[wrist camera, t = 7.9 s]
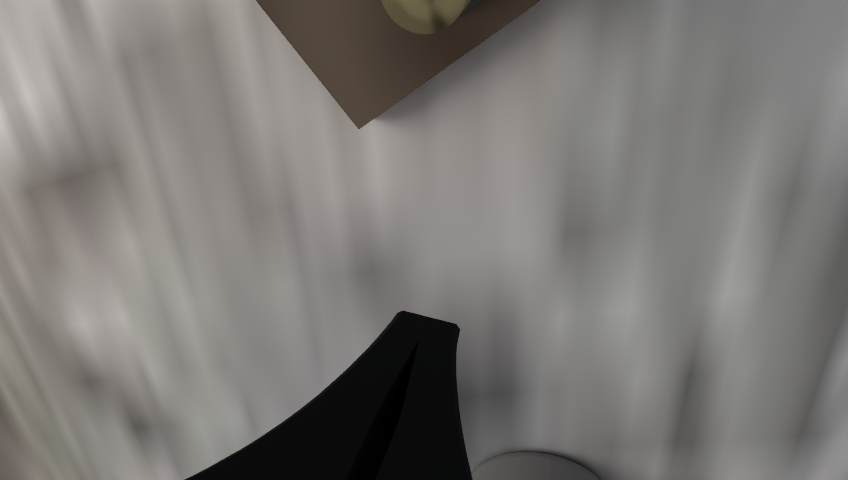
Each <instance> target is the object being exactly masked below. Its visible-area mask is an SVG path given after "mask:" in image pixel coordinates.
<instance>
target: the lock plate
mask: <svg viewBox="0 0 848 480" xmlns="http://www.w3.org/2000/svg"><path fill="white" fill-rule="evenodd" d="M256 1H257V2H258V4H259V5H260V6H261V7H262V9H263V10H264V11H265V12H266V14H267V15H268V16H269V17H270V19H271V20H272V21H273V23H274V24H275V25H276V26H277V28H278V29H279V30H280V31H281V33H282V34H283V35H284V36H285V38H286V39H287V40H288V41H289V43H290V44H291V45H292V46H293V48H294V49H295V50H296V51H297V53H298V54H299V55H300V56H301V58H302V59H303V60H304V61H305V63H306V64H307V65H308V66H309V68H310V69H311V70H312V71H313V73H314V74H315V75H316V76H317V78H318V79H319V80H320V81H321V83H322V84H323V85H324V86H325V88H326V89H327V90H328V91H329V93H330V94H331V95H332V96H333V98H334V99H335V100H336V101H337V103H338V104H339V105H340V106H341V108H342V109H343V110H344V111H345V113H346V114H347V115H348V117H349V118H350V119H351V120H352V122H353V123H354V124H355V125H356V127H357V128H358V129H360V128H361V127H363V126H364V125H366V124H367V123H368V122H370V121H371V120H373V119H374V118H376V117H377V116H378V115H380V114H381V113H383V112H384V111H385V110H387V109H388V108H390V107H391V106H392V105H394V104H395V103H397V102H398V101H399V100H401V99H402V98H404V97H405V96H406V95H408V94H409V93H411V92H412V91H414V90H415V89H416V88H418V87H419V86H421V85H422V84H423V83H425V82H426V81H428V80H429V79H430V78H432V77H433V76H435V75H436V74H437V73H439V72H440V71H442V70H443V69H445V68H446V67H447V66H449V65H450V64H452V63H453V62H454V61H456V60H457V59H459V58H460V57H461V56H463V55H464V54H466V53H467V52H468V51H470V50H471V49H473V48H474V47H476V46H477V45H478V44H480V43H481V42H483V41H484V40H485V39H487V38H488V37H490V36H491V35H492V34H494V33H495V32H497V31H498V30H499V29H501V28H502V27H504V26H505V25H506V24H508V23H509V22H511V21H512V20H514V19H515V18H516V17H518V16H519V15H521V14H522V13H523V12H525V11H526V10H528V9H529V8H530V7H532V6H533V5H535V4H536V3H537V2H539V1H540V0H471V2H470V3H469V4H468V5H467V7H466V8H465V9H464V10H463V11H462V13H461V14H460V15H459V16H458V18H457V19H456V20H455V21H454V22H453V23H452V24H451V25H450V26H448V27H447V28H446V29H444V30H442V31H439V32H437V33H432V34H417V33H413V32H410V31H408V30H406V29H404V28H402V27H401V26H399V25H398V24H397V23H395V22H394V21H393V20H392V18H391V17H390V16H389V15H388V13H387V12H386V10H385V8H384V6H383V4H382V1H381V0H256Z"/></svg>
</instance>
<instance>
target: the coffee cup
mask: <svg viewBox="0 0 848 480" xmlns="http://www.w3.org/2000/svg"><path fill="white" fill-rule="evenodd" d="M471 475H472V479H473V480H600V479H599V478H598V477H597V476H595V475H594V474H593V473H591V472H590V471H589V470H587V469H586V468H584V467H582V466H580V465H578V464H576V463H574V462H572V461H570V460H567V459H564V458H562V457H559V456H555V455H551V454H546V453H540V452H513V453H506V454H502V455H499V456H496V457H493V458H491V459H489V460H487V461H485V462H484V463H482V464H481V465H480V466H478V467H477V468H476V469H475V471H474V472H473V473H472V474H471Z"/></svg>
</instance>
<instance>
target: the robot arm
mask: <svg viewBox="0 0 848 480" xmlns="http://www.w3.org/2000/svg"><path fill="white" fill-rule="evenodd" d="M459 332H460V329H459V327H458V326H457V325H456V324H454V323H450V322H446V321H442V320H438V319H434V318H430V317H426V316H422V315H418V314H414V313H410V312H406V311H401V312H399V313H397V314H396V316H395V317H394V318H393V320H392V321H391V322H390V323H389V325H388V326H387V327H386V328H385V330H384V331H383V332H382V333H381V334H380V335H379V337H378V338H377V339H376V340H375V341H374V342H373V343H372V344H371V345H370V346H369V348H368V349H367V350H366V351H365V352H364V353H363V354H362V355H361V356H360V357H359V358H358V359H357V360H356V361H355V362H354V363H353V364H352V365H351V366H350V367H349V368H348V369H347V370H346V371H345V372H343V373H342V374H341V375H340V376H339V377H338V378H337V379H336V380H335V381H333V382H332V383H331V384H330V385H329V386H328V387H327V388H325V389H324V390H323V391H322V392H321V393H320V394H319V395H317V396H316V397H315V398H314V399H313V400H311V401H310V402H309V403H308V404H306V405H305V406H304V407H302V408H301V409H300V410H299V411H297V412H296V413H295V414H293V415H292V416H291V417H289V418H288V419H286V420H285V421H284V422H282V423H281V424H279V425H278V426H276V427H275V428H273V429H272V430H270V431H269V432H267V433H266V434H264V435H263V436H262V437H260V438H259V439H257V440H255V441H254V442H252V443H251V444H249V445H247V446H246V447H244V448H242V449H241V450H239V451H237V452H235V453H234V454H232V455H230V456H228V457H226V458H225V459H223V460H221V461H219V462H218V463H216V464H214V465H212V466H210V467H209V468H207V469H205V470H203V471H201V472H199V473H197V474H195V475H193V476H191V477H189V478H187V479H185V480H473V479H472V475H471V471H470V466H469V462H468V458H467V453H466V448H465V443H464V438H463V432H462V426H461V419H460V412H459V404H458V392H457V380H456V350H457V342H458V337H459Z"/></svg>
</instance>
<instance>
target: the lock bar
mask: <svg viewBox="0 0 848 480" xmlns="http://www.w3.org/2000/svg"><path fill="white" fill-rule="evenodd" d="M381 1H382V4H383V6H384V8H385V10H386V12H387V13H388V15H389V16H390V17H391V18H392V20H393V21H394V22H395V23H397V24H398V25H399V26H401V27H402V28H404V29H406V30H408V31H410V32H413V33H417V34H432V33H437V32H439V31H442V30H444V29H446V28H447V27H448V26H450V25H451V24H452V23H453V22H454V21H455V20H456V19H457V18H458V16H459V15H460V14H461V13H462V11H463V10H464V9H465V8H466V7H467V5H468V4H469V3H470V2H471V0H381Z"/></svg>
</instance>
